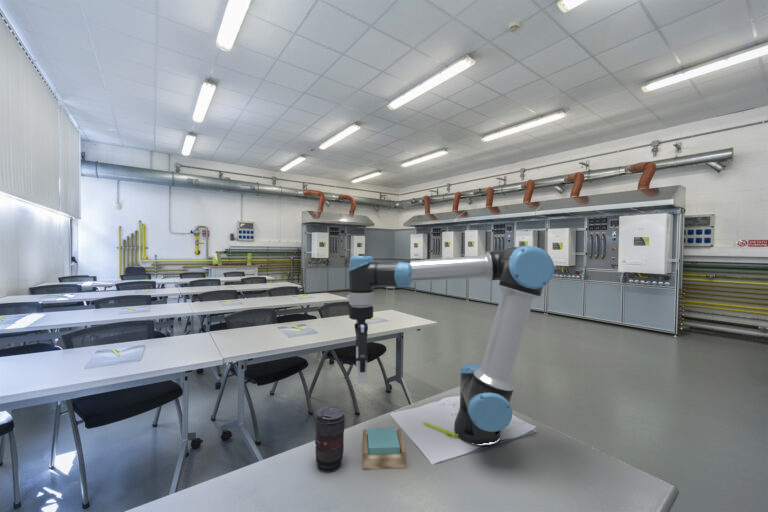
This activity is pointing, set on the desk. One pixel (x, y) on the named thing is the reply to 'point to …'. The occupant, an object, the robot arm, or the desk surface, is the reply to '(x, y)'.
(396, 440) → the cover plate
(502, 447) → the desk surface
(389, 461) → the wooden channel tray
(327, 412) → the camera lens
